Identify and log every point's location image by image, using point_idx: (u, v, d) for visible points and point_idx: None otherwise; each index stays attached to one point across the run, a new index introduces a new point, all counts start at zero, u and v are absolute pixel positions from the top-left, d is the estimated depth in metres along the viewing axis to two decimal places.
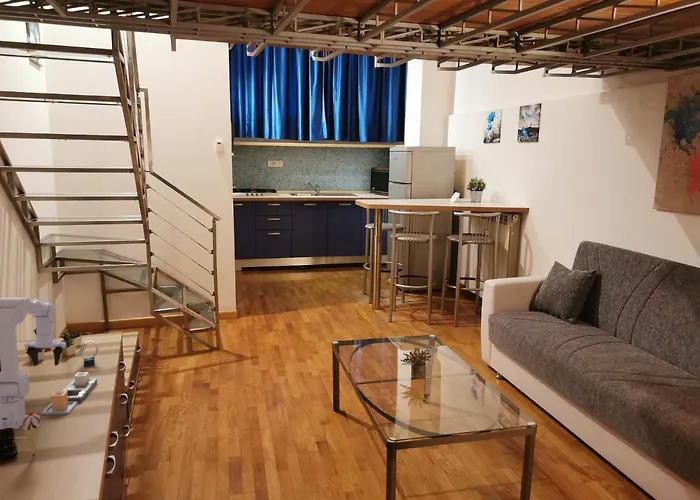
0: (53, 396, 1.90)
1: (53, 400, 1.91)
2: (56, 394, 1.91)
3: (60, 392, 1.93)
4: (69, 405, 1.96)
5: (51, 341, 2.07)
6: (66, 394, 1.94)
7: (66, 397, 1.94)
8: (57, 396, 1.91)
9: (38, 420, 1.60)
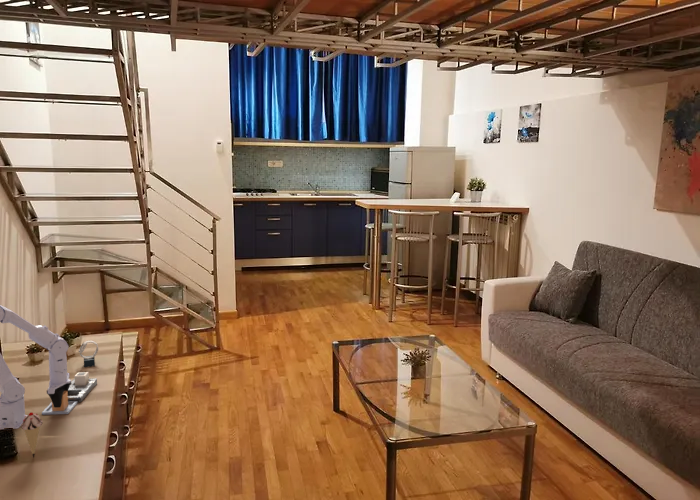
0: None
1: None
2: None
3: None
4: (69, 405, 1.96)
5: (53, 381, 1.89)
6: (66, 394, 1.94)
7: (66, 397, 1.94)
8: None
9: (38, 420, 1.60)
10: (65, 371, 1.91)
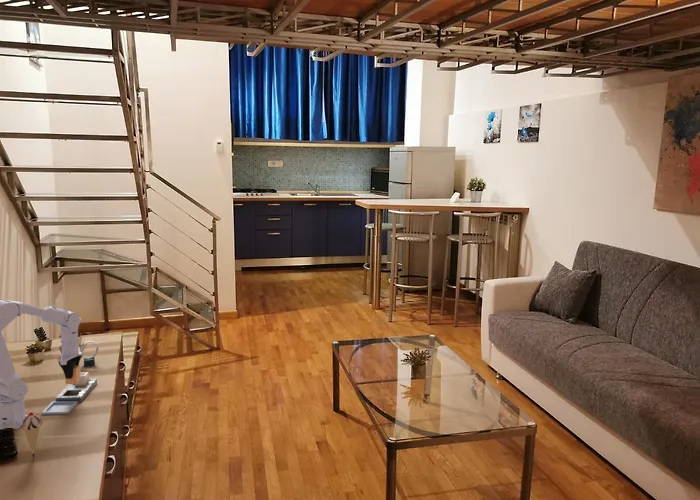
0: None
1: None
2: None
3: None
4: (69, 405, 1.96)
5: (65, 353, 1.97)
6: (79, 368, 2.02)
7: (79, 371, 2.02)
8: None
9: (38, 420, 1.60)
10: (76, 344, 1.99)
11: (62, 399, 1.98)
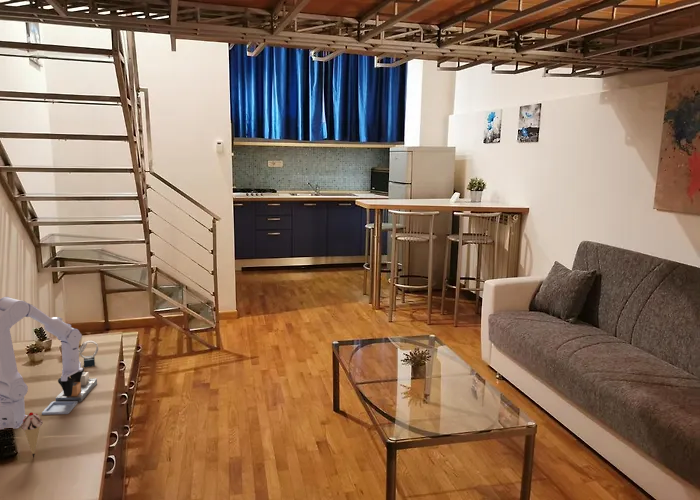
0: None
1: None
2: None
3: (74, 383, 2.02)
4: (69, 405, 1.96)
5: (65, 369, 1.98)
6: (79, 385, 2.03)
7: (79, 388, 2.03)
8: None
9: (38, 420, 1.60)
10: (77, 360, 2.00)
11: (62, 399, 1.98)
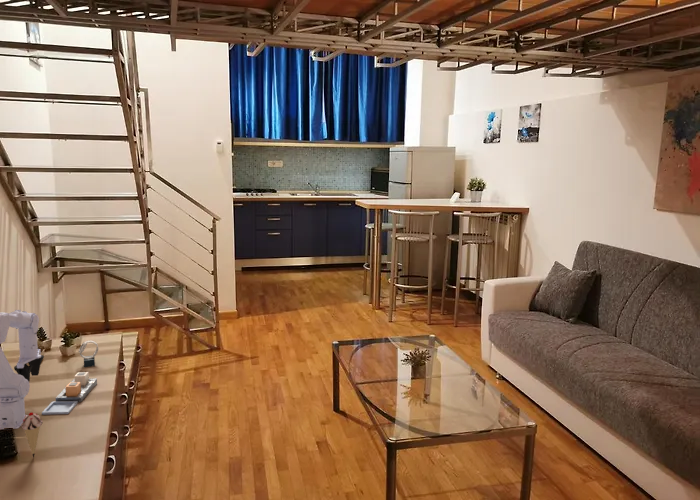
0: (67, 387, 1.99)
1: (67, 391, 2.00)
2: (70, 385, 2.00)
3: (74, 383, 2.02)
4: (69, 405, 1.96)
5: (22, 356, 1.91)
6: (79, 385, 2.03)
7: (79, 388, 2.03)
8: (71, 387, 2.00)
9: (38, 420, 1.60)
10: (35, 346, 1.93)
11: (62, 399, 1.98)
